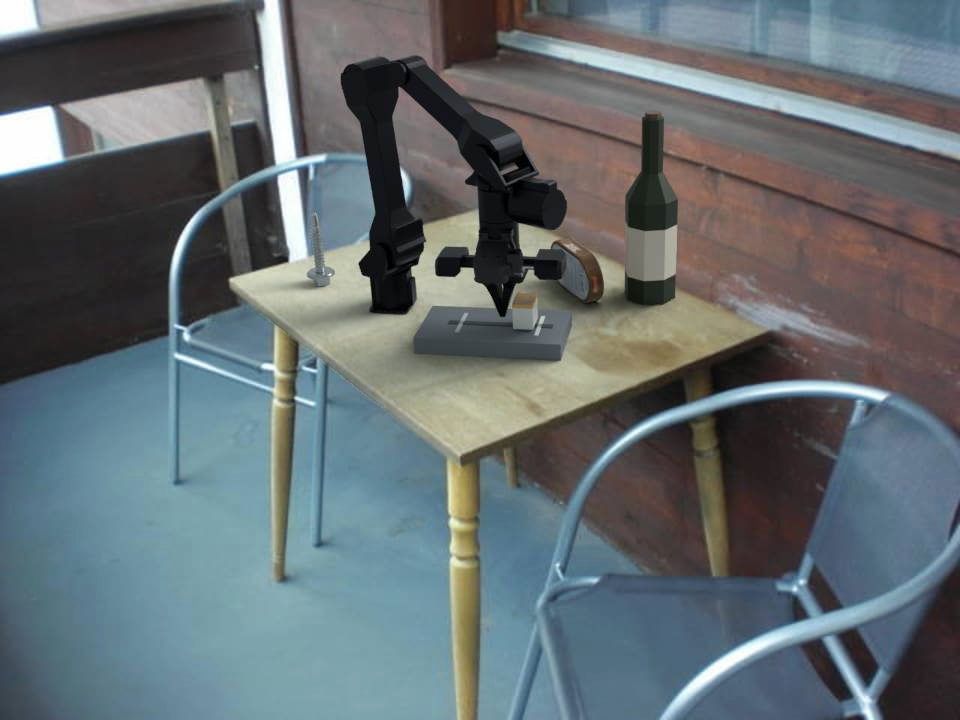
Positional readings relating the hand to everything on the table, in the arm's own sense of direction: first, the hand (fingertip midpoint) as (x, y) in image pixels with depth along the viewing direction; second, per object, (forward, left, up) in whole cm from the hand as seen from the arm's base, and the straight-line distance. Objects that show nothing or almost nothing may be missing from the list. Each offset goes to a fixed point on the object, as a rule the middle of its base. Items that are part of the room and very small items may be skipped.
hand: (503, 316), depth 172 cm
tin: (+8, +19, -4) cm, 21 cm away
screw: (-36, +19, -4) cm, 41 cm away
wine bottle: (+20, +19, -4) cm, 28 cm away
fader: (+3, 0, -1) cm, 3 cm away
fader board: (-2, 0, -4) cm, 4 cm away
